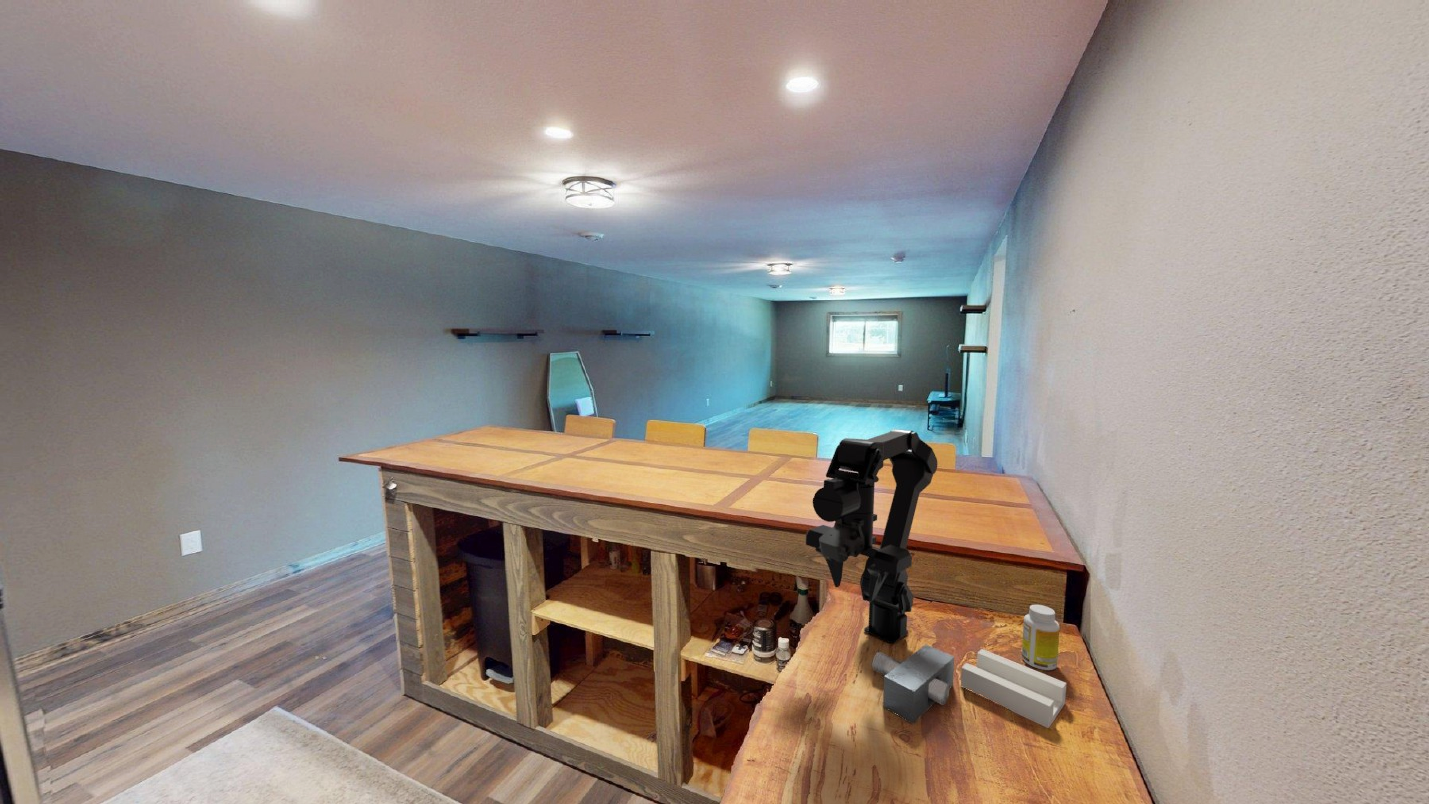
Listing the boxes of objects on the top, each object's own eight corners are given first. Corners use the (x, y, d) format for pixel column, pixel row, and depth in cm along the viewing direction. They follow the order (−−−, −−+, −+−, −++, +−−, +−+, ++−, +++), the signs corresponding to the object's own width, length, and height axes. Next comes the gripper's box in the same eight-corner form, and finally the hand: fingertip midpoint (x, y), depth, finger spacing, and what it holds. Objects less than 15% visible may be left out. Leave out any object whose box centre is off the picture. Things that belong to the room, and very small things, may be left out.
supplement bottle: (1063, 667, 93) (1067, 613, 92) (1045, 675, 91) (1048, 619, 90) (1033, 651, 98) (1036, 599, 97) (1014, 658, 96) (1017, 605, 95)
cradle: (960, 686, 87) (961, 667, 87) (980, 667, 93) (981, 648, 92) (1048, 728, 77) (1049, 706, 77) (1065, 703, 83) (1066, 682, 83)
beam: (882, 707, 82) (884, 676, 81) (924, 672, 91) (925, 644, 91) (912, 723, 78) (914, 691, 78) (952, 685, 87) (954, 656, 87)
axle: (871, 671, 89) (874, 652, 90) (880, 668, 91) (883, 650, 92) (939, 706, 80) (942, 685, 81) (947, 702, 83) (950, 682, 83)
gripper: (787, 506, 93) (785, 588, 95) (880, 532, 80) (877, 628, 81) (824, 495, 101) (822, 572, 102) (915, 518, 87) (911, 606, 88)
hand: (854, 593), depth 93 cm, fingers open, 7 cm apart
